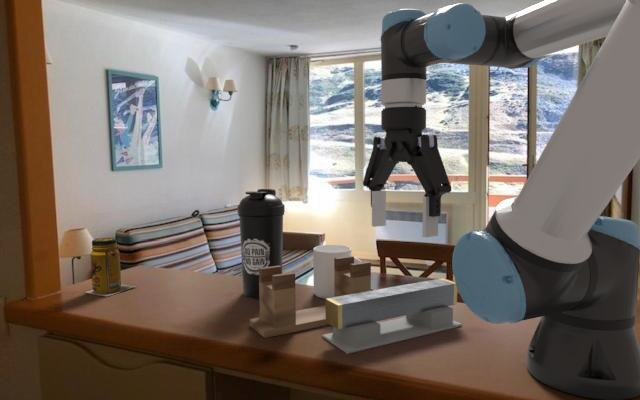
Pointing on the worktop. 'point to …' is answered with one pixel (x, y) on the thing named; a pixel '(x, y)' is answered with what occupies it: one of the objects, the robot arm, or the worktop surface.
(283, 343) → the worktop surface
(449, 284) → the rail
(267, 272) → the rack
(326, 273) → the mug
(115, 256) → the condiment
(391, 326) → the rest
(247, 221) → the water bottle
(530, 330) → the worktop surface
